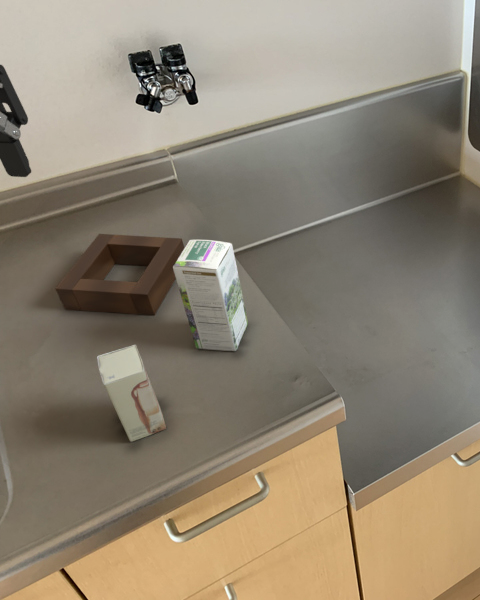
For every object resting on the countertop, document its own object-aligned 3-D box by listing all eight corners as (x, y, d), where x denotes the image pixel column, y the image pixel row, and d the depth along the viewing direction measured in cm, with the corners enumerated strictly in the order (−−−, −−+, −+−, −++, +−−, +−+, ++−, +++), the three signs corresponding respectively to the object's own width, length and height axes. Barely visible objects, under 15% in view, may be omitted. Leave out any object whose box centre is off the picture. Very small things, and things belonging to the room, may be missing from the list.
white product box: (168, 429, 73) (144, 372, 66) (129, 443, 71) (102, 387, 65) (159, 399, 76) (136, 342, 70) (122, 412, 75) (95, 355, 68)
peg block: (65, 309, 89) (54, 288, 86) (107, 253, 99) (99, 233, 96) (154, 315, 88) (147, 294, 85) (187, 258, 98) (182, 238, 95)
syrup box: (210, 320, 87) (186, 237, 77) (250, 323, 87) (231, 240, 77) (195, 349, 83) (169, 265, 73) (238, 352, 82) (217, 268, 73)
